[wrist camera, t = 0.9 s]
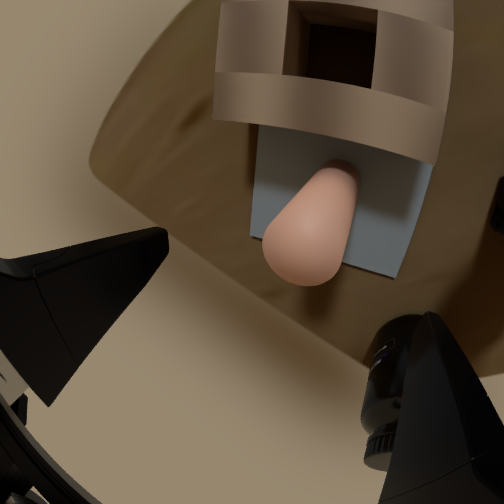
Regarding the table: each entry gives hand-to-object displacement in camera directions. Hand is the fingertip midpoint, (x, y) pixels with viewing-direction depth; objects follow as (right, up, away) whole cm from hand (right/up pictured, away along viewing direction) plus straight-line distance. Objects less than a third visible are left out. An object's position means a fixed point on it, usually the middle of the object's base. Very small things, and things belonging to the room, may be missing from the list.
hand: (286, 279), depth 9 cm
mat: (+5, +4, +11) cm, 12 cm away
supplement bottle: (+13, -7, +13) cm, 20 cm away
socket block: (+5, +13, +5) cm, 15 cm away
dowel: (+5, +6, +9) cm, 12 cm away
